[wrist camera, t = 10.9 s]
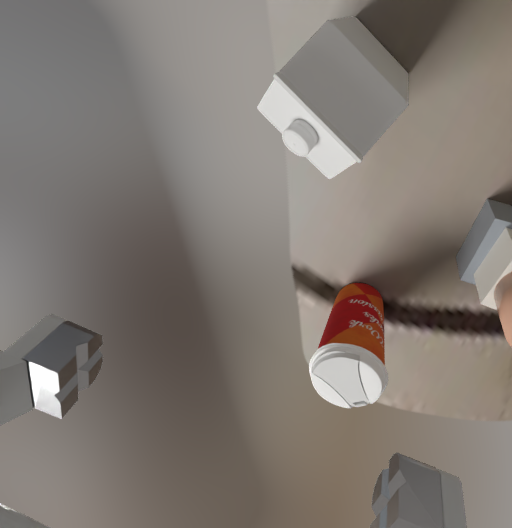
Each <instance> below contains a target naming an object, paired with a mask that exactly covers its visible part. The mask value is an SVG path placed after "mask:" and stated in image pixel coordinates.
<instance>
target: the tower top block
mask: <svg viewBox="0 0 512 528" xmlns="http://www.w3.org/2000/svg"><path fill="white" fill-rule="evenodd" d="M510 272H512V229H510V228H507V227H505V229H504V230H503V232H502V233H501V235H500V236H499V238H498V239H497V241H496V242H495V244H494V245H493V247H492V248H491V250H490V251H489V252H488V254H487V255H486V257H485V258H484V260H483V261H482V263H481V264H480V266H479V267H478V269H477V270H476V272H475V273H474V279H475V283H476V287H477V291H478V295H479V299H480V304H482V305H485V306H488V307H490V308H493V309H496V310H497V307H496V304H495V300H494V290H495V287H496V285H497V284H498V282H499V281H500V280H501V279H502V278H503V277H504V276H505V275H507V274H508V273H510Z"/></svg>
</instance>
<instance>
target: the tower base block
mask: <svg viewBox="0 0 512 528" xmlns="http://www.w3.org/2000/svg"><path fill="white" fill-rule="evenodd" d="M505 227H507V228H510V229H512V206H511V205H508V204H504V203H501V202H497V201H493V200H490V199H487V200H486V202H485V204H484V205H483V207H482V209H481V211H480V213H479V215H478V217H477V218H476V220H475V222H474V224H473V226H472V228H471V230H470V231H469V233H468V235H467V237H466V239H465V241H464V243H463V244H462V246H461V248H460V250H459V252H458V254H457V256H456V260H457V265H458V270H459V276H460V280H462V281H465V282H468V283H471V284H474V285H476V283H475V279H474V273H475V272H476V270H477V269H478V267H479V266H480V264H481V263H482V261H483V260H484V258H485V257H486V255H487V254H488V252H489V251H490V250H491V248H492V247H493V245H494V244H495V242H496V241H497V239H498V238H499V236H500V235H501V233H502V232H503V230H504V229H505Z"/></svg>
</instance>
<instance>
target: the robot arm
mask: <svg viewBox="0 0 512 528" xmlns="http://www.w3.org/2000/svg"><path fill="white" fill-rule="evenodd" d="M102 344H103V337H102V335H101V334H98V333H96V332H93V331H91V330H89V329H87V328H85V327H82V326H80V325H78V324H75V323H73V322H71V321H68V320H66V319H64V318H61V317H59V316H56V315H54V314H51V315H48V316H46V317H45V318H43V319H42V320H41V321H40V322H39V323H37V324H36V325H35V326H34V327H33V328H31V329H30V330H29V331H28V332H26V333H25V334H24V335H23V336H22V337H20V338H19V339H18V340H17V341H16V342H14V343H13V344H12V345H11V346H10V347H8V348H7V349H6V350H5V351H1V350H0V426H1V425H3V424H5V423H7V422H9V421H11V420H12V419H15V418H17V417H19V416H21V415H23V414H25V413H27V412H29V411H31V410H33V408H36V409H38V410H41V411H43V412H45V413H48V414H50V415H53V416H55V417H58V418H60V419H62V418H63V417H64V416H65V415H66V413H67V412H68V411H69V410H70V409H71V408H72V406H73V405H74V404H75V403H76V402H77V401H78V391H81V390H83V389H86V388H88V387H89V386H90V385H91V384H92V383H93V382H94V380H95V379H96V377H97V375H98V373H99V372H100V370H101V366H102V362H103V355H102V353H101V352H100V350H99V348H100V347H101V346H102ZM372 509H373V511H374V513H375V515H376V518H375V520H374V521H373V522H372V524H371V525H370V528H467V525H466V516H465V508H464V500H463V491H462V483H461V481H460V479H459V477H457V476H454V475H452V474H449V473H447V472H444V471H442V470H439V469H436V468H435V467H433V466H430V465H428V464H425V463H422V462H420V461H417V460H415V459H412V458H410V457H407V456H404V455H402V454H399V453H395V454H393V456H392V457H391V459H390V460H389V468H388V469H384V470H382V472H381V473H380V475H379V477H378V479H377V481H376V484H375V487H374V492H373V497H372ZM0 528H51V527H49V526H47V525H45V524H43V523H41V522H39V521H37V520H34V519H32V518H30V517H28V516H26V515H24V514H22V513H19V512H18V511H16V510H14V509H12V508H9V507H7V506H5V505H3V504H1V503H0Z"/></svg>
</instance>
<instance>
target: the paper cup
mask: <svg viewBox="0 0 512 528" xmlns="http://www.w3.org/2000/svg"><path fill="white" fill-rule="evenodd" d="M309 372H310V376H311V379H312V383H313V386H314V388H315V390H316V391H317V392H318V394H319V395H321V397H323V398H324V399H325V400H327V401H328V402H330V403H332V404H334V405H337V406H340V407H345V408H352V407H353V406H355V407H360V406H365V405H367V403H371V404H372V403H374V402H375V401H376V400H377V399H378V398H379V397H380V395H381V394H382V393H383V391H384V390H385V388H386V386H387V383H388V373H387V370H386V368H385V361H384V310H383V300H382V297H381V295H380V293H379V292H378V291H377V290H376V289H375V288H374V287H372V286H370V285H368V284H364V283H352V284H349V285H346V286H345V287H343V288H342V289H341V290H340V292H339V293H338V296H337V298H336V300H335V303H334V305H333V308H332V311H331V314H330V316H329V319H328V322H327V325H326V327H325V330H324V333H323V336H322V338H321V341H320V344H319V347H318V350H317V351H316V352H315V354H314V355H313V356H312V358H311V360H310V364H309Z"/></svg>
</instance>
